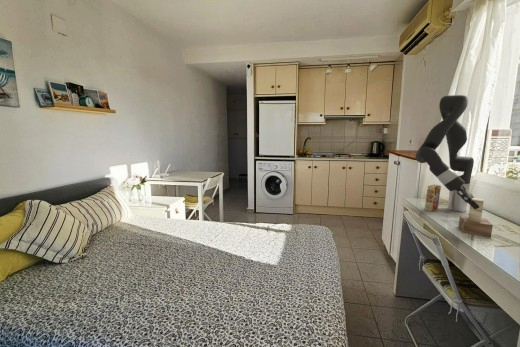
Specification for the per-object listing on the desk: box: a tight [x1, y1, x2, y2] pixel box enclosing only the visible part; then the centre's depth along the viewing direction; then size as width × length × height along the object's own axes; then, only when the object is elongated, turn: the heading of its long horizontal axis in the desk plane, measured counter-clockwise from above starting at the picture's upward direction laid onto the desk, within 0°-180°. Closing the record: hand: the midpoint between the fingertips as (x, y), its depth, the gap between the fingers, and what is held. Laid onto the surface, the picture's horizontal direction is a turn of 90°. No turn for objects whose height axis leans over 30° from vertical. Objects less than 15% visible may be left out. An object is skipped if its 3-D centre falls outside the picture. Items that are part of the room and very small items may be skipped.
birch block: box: [468, 197, 485, 222], centre depth 118 cm, size 4×4×10 cm
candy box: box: [424, 184, 442, 212], centre depth 154 cm, size 9×4×15 cm, turn 123°
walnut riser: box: [458, 215, 494, 238], centre depth 119 cm, size 10×10×6 cm
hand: (477, 206), depth 118 cm, fingers open, 8 cm apart
